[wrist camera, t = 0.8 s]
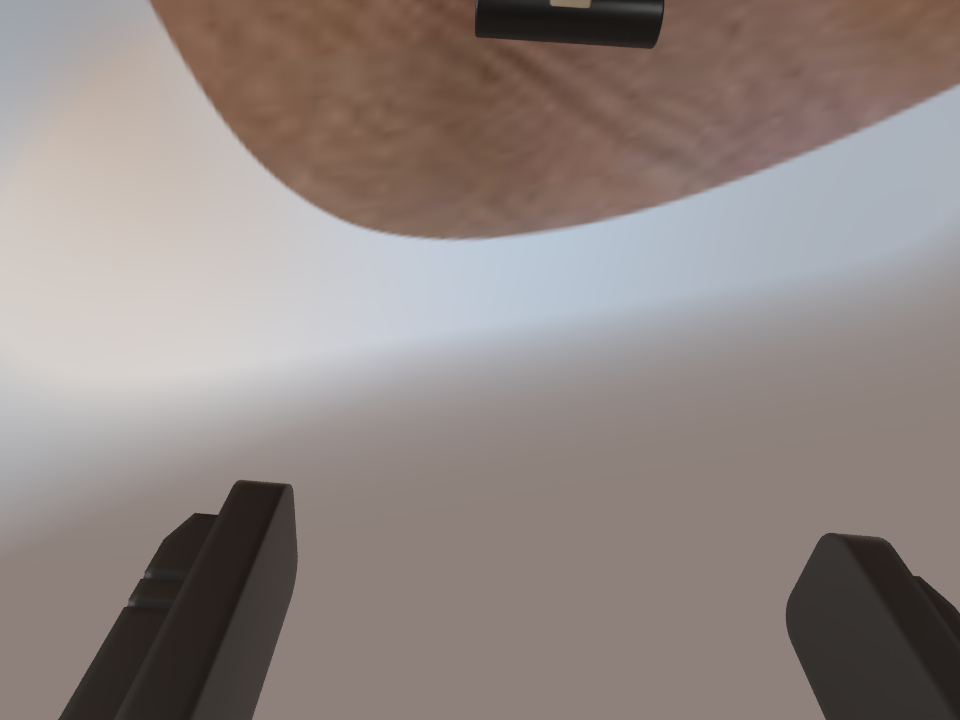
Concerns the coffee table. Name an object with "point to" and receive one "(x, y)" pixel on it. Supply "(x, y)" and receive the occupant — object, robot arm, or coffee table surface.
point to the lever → (572, 21)
